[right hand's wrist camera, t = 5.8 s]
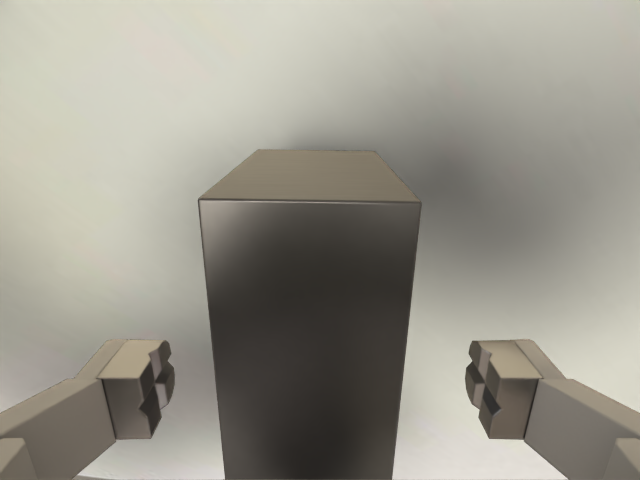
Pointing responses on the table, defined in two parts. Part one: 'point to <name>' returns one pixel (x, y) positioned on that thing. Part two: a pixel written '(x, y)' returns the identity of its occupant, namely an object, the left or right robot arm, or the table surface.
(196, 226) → the table surface
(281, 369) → the bar
